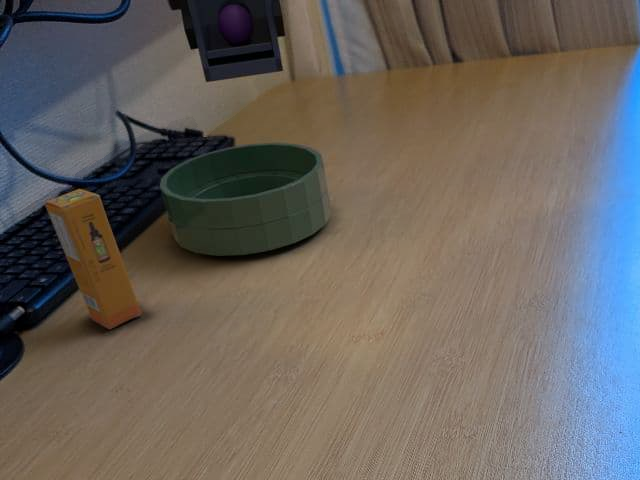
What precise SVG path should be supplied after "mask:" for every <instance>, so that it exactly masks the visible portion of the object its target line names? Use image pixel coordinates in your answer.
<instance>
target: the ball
mask: <svg viewBox="0 0 640 480" xmlns="http://www.w3.org/2000/svg"><path fill="white" fill-rule="evenodd" d="M218 26H219V30H220V33H221V34H222V36H223V37H224V39H225V40H227V41H228V42H230V43H232V44H235V45H240V44H243V43H245V42H246V41H248V40H249V38H250V37H251V35H252V31H253V22H252V19H251V16H250V14H249V13H248V12H247V10H246V9H244V8H243V7H241V6H239V5H228V6H226V7H225V8H224V9H223V10H222V11H221V13H220V15H219V19H218Z"/></svg>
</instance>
